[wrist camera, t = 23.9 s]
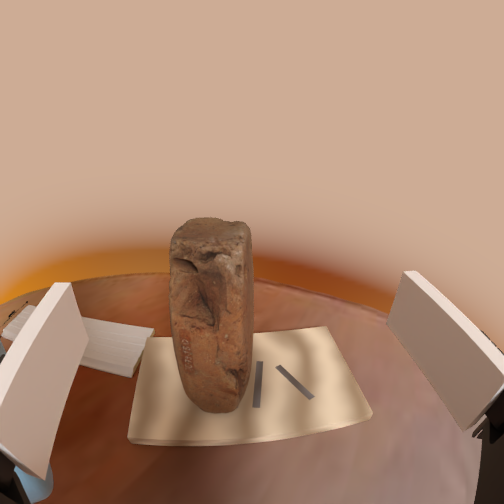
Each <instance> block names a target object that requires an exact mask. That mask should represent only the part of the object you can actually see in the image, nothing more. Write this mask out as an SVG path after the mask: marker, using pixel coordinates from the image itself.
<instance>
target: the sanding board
mask: <svg viewBox="0 0 504 504" xmlns="http://www.w3.org/2000/svg"><path fill="white" fill-rule="evenodd" d="M372 414H373V412H372V410H371V408H370V406H369V404H368V403H367V401H366V399H365V397H364V395H363V393H362V391H361V389H360V387H359V386H358V384H357V382H356V380H355V378H354V376H353V374H352V373H351V371H350V369H349V367H348V365H347V363H346V361H345V360H344V358H343V356H342V354H341V352H340V351H339V349H338V347H337V345H336V343H335V341H334V340H333V338H332V336H331V334H330V332H329V331H328V329H327V327H326V326H323V327H315V328H306V329H297V330H287V331H277V332H266V333H253V351H252V364H251V372H250V378H249V382H248V385H247V388H246V391H245V394H244V396H243V398H242V400H241V401H240V403H239V406H238V407H237V408H236V409H235V410H234V411H232V412H230V413H217V414H214V413H208V412H204V411H203V410H201V409H200V408H199V407H198V406H197V405H196V404H194V403H193V402H192V401H191V400H190V399H189V398H188V396H187V395H186V393H185V391H184V388H183V385H182V382H181V378H180V375H179V370H178V366H177V361H176V357H175V352H174V347H173V339H172V337H147V339H146V343H145V347H144V352H143V356H142V361H141V365H140V370H139V375H138V379H137V384H136V389H135V395H134V400H133V405H132V411H131V417H130V423H129V429H128V436H127V438H128V439H129V441H130V442H131V443H132V444H144V445H159V446H219V445H236V444H248V443H257V442H266V441H274V440H281V439H287V438H293V437H299V436H305V435H310V434H315V433H320V432H324V431H329V430H333V429H337V428H341V427H345V426H349V425H353V424H357V423H360V422H364V421H367V420H370V418H371V416H372Z"/></svg>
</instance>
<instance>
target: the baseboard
mask: <svg viewBox="0 0 504 504" xmlns="http://www.w3.org/2000/svg"><path fill="white" fill-rule="evenodd" d="M26 303H28V301H26ZM26 303H25V304H26ZM25 304H24V305H25ZM24 305H23V306H24ZM35 309H36V306H32V305H28V306H27V307H26V308H25V309H24V310H23V311H22V312H21V313H20V314H18V315H17V317H16V318H15V319H13V321H12V322H11V323H9V325H8V326H7V327H5V328H4V329H3V333H2V335H1V336H2V337H4V338H6V339H8V340H11V341H13V342H14V340H15V339H16V337H17V336H18V334H19V332H20V331H21V329H22V328H23V326H24V325H25V323H26V322H27V320H28V319H29V317H30V316H31V314H32V313H33V312H34V310H35ZM12 314H13V315H14V314H15V310H14V311H13V312H12V313H11V314H10V315H9V317H10V316H11V315H12ZM13 315H12V316H13ZM12 316H11V317H12ZM11 317H10V318H11ZM10 318H9V319H10ZM81 318H82V321H83V323H84V326H85V329H86V332H87V335H88V337H89V341H88V344H87V346H86V348H85V351H84V353H83V356H82V358H81V361H80V364H79V365H82V366H85V367H89V368H92V369H96V370H100V371H104V372H108V373H112V374H116V375H120V376H125V377H129V378H132V376H133V374H134V372H135V370H136V368H137V366H138V365H139V363H140V361H141V359H142V356H143V352H144V347H145V343H146V339H147V337H153V336H154V334H155V330H154V329H153V328H145V327H138V326H132V325H125V324H119V323H113V322H107V321H102V320H96V319H91V318H86V317H81ZM9 319H8V320H9ZM8 320H7V321H8ZM7 321H6V322H7ZM1 336H0V338H1Z"/></svg>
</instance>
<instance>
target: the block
mask: <svg viewBox="0 0 504 504" xmlns="http://www.w3.org/2000/svg"><path fill="white" fill-rule="evenodd" d="M170 276H171V279H170V282H169V290H170V293H169V310H170V323H171V333H172V339H173V347H174V352H175V357H176V361H177V366H178V370H179V375H180V378H181V382H182V385H183V388H184V391H185V393H186V395H187V396H188V398H189V399H190V400H191V401H192V402H193V403H194V404H196V405H197V406H198V407H199V408H200V409H201V410H203V411H204V412H208V413H214V414H217V413H230V412H232V411H234V410H235V409H236V408H237V407H238V406H239V403H240V401H241V400H242V398H243V396H244V394H245V391H246V388H247V385H248V382H249V378H250V372H251V364H252V351H253V327H254V282H253V277H254V276H253V260H252V244H251V233H250V228H249V227H248V226H247V225H246V223H244V222H239V221H234V222H229V221H223V220H221V219H218V218H195V219H191V220H189V221H187V222H186V223H185V224H184V225H183V226H181V227H180V228H178V229H177V230H176V232H175V233H174V235H173V237H172V239H171V246H170Z"/></svg>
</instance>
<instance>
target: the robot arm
mask: <svg viewBox="0 0 504 504" xmlns="http://www.w3.org/2000/svg"><path fill="white" fill-rule="evenodd" d="M386 324H387V325H388V327H389V328H390V329H391V331H392V332H393V333H394V335H395V336H396V337H397V338H398V340H399V341H400V342H401V344H402V345H403V346H404V348H405V349H406V350H407V352H408V353H409V355H410V356H411V357H412V359H413V360H414V361H415V363H416V364H417V365H418V367H419V368H420V370H421V371H422V372H423V374H424V375H425V377H426V378H427V379H428V381H429V382H430V384H431V385H432V387H433V388H434V389H435V391H436V392H437V394H438V395H439V397H440V398H441V400H442V401H443V403H444V404H445V406H446V407H447V409H448V410H449V412H450V413H451V415H452V416H453V418H454V419H455V421H456V422H457V424H458V425H459V427H460V428H461V430H462V432H464V431H465V430H467V429H469V428H470V427H472V426H473V425H475V424H476V423H477V422H478V421H479V420H480V418H481V417H482V416H483V415H484V414H485V415H486V416H487V417H486V419H485V420H484V421H483V422H482V423H481V424H480V425H479V426H478V427H477V428H476V429H475V431H474V432H473V434H472V437H473V438H474V437H475V436H476V435H477V434H478V433H479V432H480V431H481V430H482V429H483V431H482V432H481V433H480V434H479V435H478V437H477V438H479V439H482V450H481V461H480V470H479V478H478V485H477V491H476V496H475V501H474V504H504V354H503V353H502V351H501V350H500V349H499V348H496V345H495V344H494V343H493V342H492V341H490V339H489V338H488V337H487V336H486V334H484V332H483V331H481V330H479V329H478V328H477V327H476V326H475V325H474V324H473V323H472V322H471V321H470V320H469V319H468V318H467V317H466V316H465V315H464V314H463V313H462V312H461V311H460V310H459V309H458V308H457V307H455V305H453V304H452V303H451V302H450V301H449V300H448V299H447V298H446V297H445V296H444V295H443V294H442V293H441V292H439V291H438V290H437V289H436V288H435V287H434V286H433V285H432V284H430V283H429V282H428V281H427V280H426V279H425V278H424V277H422V276H421V275H420V274H419V273H418V272H417V271H405V272H403V274H402V277H401V280H400V283H399V287H398V290H397V293H396V296H395V299H394V302H393V305H392V308H391V311H390V314H389V317H388V320H387V322H386ZM88 341H89V337H88V335H87V332H86V329H85V326H84V323H83V321H82V318H81V315H80V312H79V308H78V305H77V302H76V299H75V296H74V292H73V289H72V285H71V283H56V282H55V283H54V284H53V286H52V287H51V288H50V289H49V291H48V292H47V293H46V295H45V296H44V298H43V299H42V300H41V302H40V303H39V304H38V306H37V307H36V309H35V310H34V312H33V313H32V314H31V316H30V317H29V319H28V320H27V322H26V323H25V325H24V326H23V328H22V329H21V331H20V332H19V334H18V336H17V337H16V339H15V340H14V342H13V344H12V345H11V347H10V348H9V350H8V352H7V354H6V351H5V349H4V347H3V345H2V342H1V340H0V504H33V503H36V502H39V501H41V500H44V499H46V498H47V497H48V496H50V494H51V493H52V490H53V486H54V480H53V473H52V469H51V465H50V462H49V460H50V456H51V451H52V448H53V444H54V440H55V436H56V433H57V429H58V426H59V422H60V419H61V416H62V412H63V409H64V406H65V403H66V400H67V397H68V394H69V391H70V388H71V385H72V382H73V380H74V377H75V374H76V372H77V369H78V366H79V364H80V361H81V358H82V356H83V353H84V351H85V348H86V346H87V344H88Z"/></svg>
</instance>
